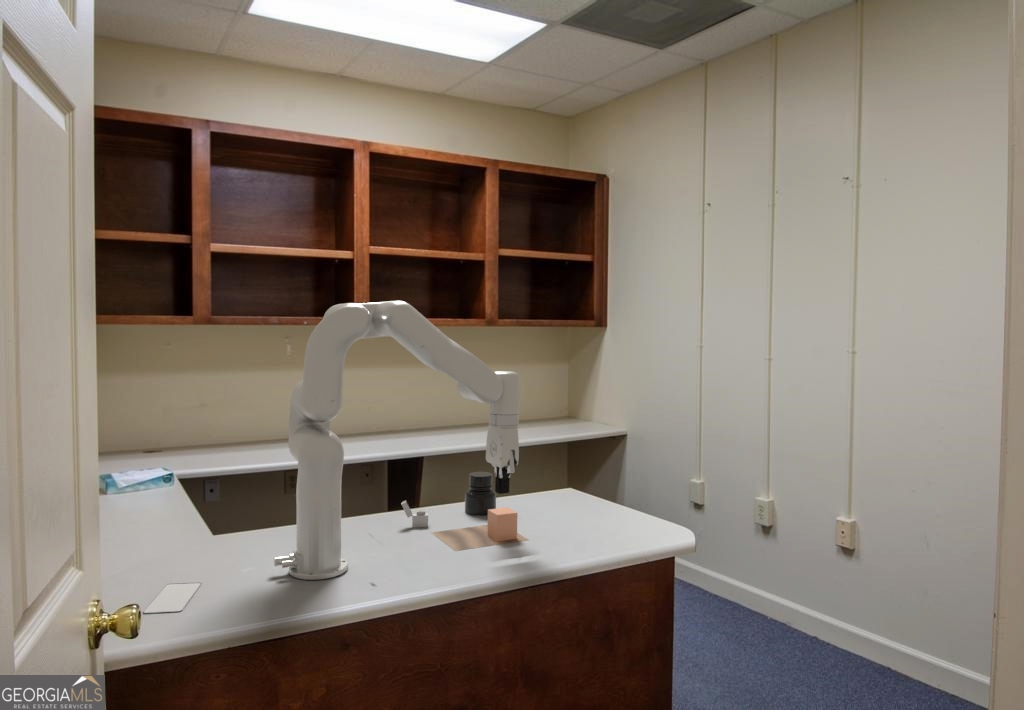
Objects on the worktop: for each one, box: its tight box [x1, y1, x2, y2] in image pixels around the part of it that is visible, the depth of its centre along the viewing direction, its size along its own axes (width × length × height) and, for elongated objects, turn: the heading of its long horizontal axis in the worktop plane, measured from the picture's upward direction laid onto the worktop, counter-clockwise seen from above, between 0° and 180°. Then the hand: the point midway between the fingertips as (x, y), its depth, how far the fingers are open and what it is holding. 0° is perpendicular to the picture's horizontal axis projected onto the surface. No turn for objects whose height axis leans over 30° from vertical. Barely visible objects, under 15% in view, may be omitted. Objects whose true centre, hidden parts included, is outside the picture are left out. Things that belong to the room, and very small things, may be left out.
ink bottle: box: [464, 471, 497, 517], centre depth 199 cm, size 10×9×12 cm
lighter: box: [400, 500, 429, 528], centre depth 184 cm, size 7×2×8 cm, turn 98°
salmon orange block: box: [487, 506, 518, 541], centre depth 176 cm, size 6×6×7 cm
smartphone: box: [142, 582, 203, 615], centre depth 138 cm, size 7×1×15 cm
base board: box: [430, 524, 529, 552], centre depth 176 cm, size 20×16×1 cm
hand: (502, 492), depth 175 cm, fingers closed
